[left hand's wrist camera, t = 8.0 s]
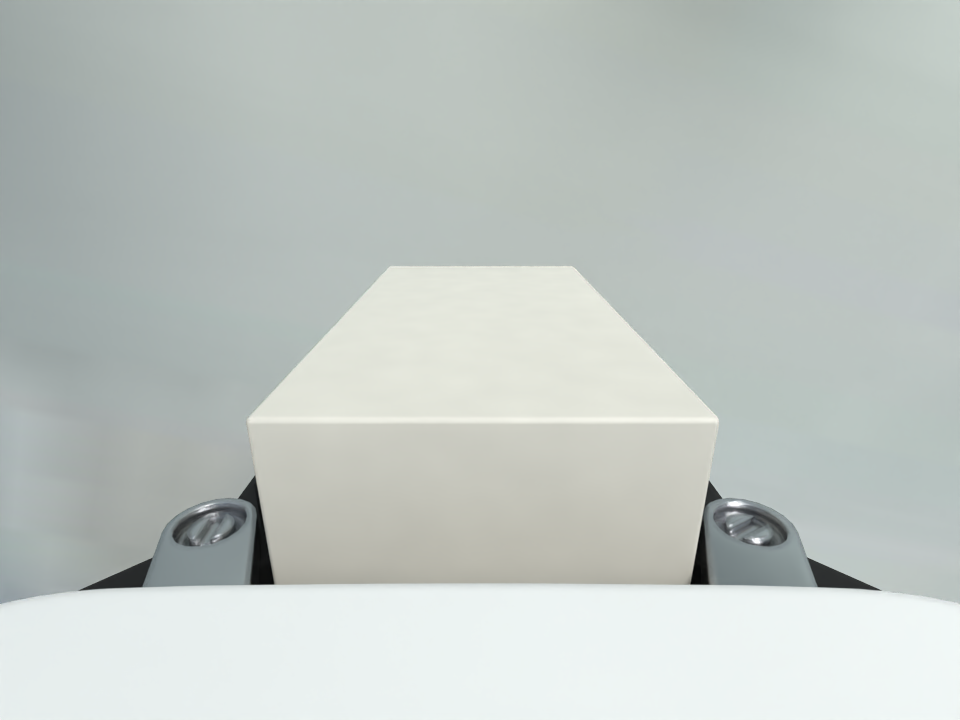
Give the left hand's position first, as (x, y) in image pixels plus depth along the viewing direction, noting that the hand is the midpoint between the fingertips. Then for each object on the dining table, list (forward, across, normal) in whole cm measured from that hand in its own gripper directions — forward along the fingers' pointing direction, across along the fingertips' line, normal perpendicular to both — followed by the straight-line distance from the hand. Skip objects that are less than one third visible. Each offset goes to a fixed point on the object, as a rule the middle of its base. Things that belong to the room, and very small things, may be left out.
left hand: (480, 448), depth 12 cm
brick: (+5, 0, 0) cm, 5 cm away
